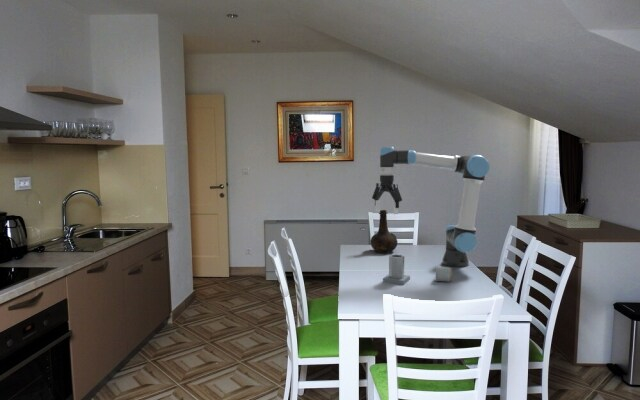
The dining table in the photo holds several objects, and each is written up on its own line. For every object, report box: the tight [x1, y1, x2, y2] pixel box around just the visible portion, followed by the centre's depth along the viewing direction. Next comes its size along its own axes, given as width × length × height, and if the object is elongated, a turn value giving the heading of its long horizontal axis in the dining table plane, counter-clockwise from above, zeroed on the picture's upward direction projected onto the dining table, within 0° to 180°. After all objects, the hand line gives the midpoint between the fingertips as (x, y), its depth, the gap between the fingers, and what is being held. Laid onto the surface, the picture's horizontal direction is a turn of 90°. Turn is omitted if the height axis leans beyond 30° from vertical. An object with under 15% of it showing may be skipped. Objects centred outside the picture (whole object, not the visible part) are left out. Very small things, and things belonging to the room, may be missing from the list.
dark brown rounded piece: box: [369, 209, 398, 254], centre depth 304 cm, size 18×18×28 cm
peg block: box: [382, 273, 411, 286], centre depth 235 cm, size 11×11×8 cm
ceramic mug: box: [434, 265, 453, 283], centre depth 236 cm, size 11×8×8 cm
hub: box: [388, 254, 405, 279], centre depth 235 cm, size 7×7×11 cm
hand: (386, 212), depth 254 cm, fingers open, 13 cm apart
